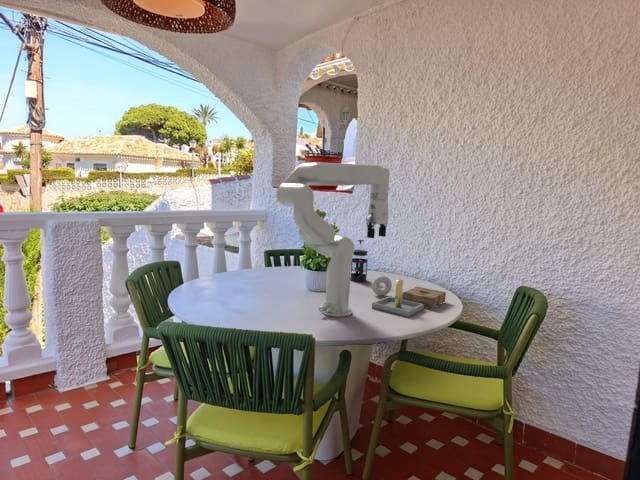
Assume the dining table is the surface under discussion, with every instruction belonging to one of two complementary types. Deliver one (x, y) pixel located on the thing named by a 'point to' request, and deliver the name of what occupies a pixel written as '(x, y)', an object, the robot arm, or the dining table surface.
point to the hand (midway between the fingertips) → (376, 237)
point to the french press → (359, 276)
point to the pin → (398, 293)
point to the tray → (405, 310)
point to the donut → (377, 281)
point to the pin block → (425, 296)
